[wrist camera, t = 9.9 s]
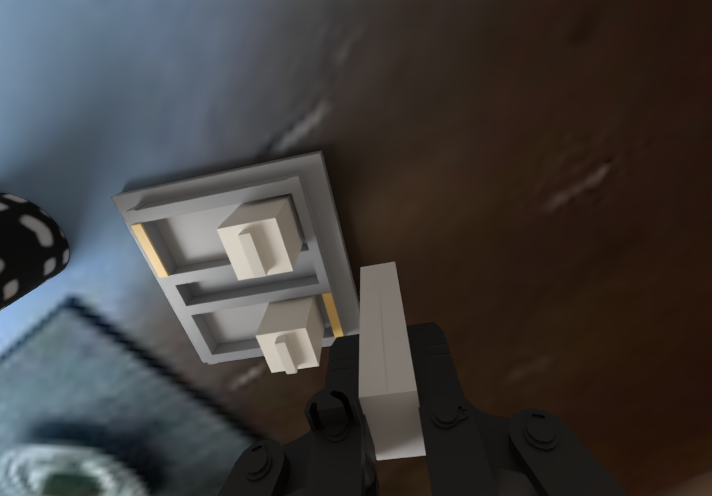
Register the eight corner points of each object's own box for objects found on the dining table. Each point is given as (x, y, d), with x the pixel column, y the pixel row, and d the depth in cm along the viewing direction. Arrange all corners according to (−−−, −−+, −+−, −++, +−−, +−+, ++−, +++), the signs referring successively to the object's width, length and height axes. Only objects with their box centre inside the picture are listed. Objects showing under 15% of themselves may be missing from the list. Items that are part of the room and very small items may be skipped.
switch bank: (208, 354, 35) (195, 375, 32) (120, 192, 27) (95, 204, 25) (366, 330, 33) (366, 351, 31) (321, 150, 25) (317, 157, 23)
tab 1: (258, 248, 28) (234, 286, 23) (241, 203, 26) (211, 234, 21) (304, 239, 27) (291, 277, 22) (290, 193, 26) (272, 222, 20)
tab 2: (284, 331, 32) (269, 380, 26) (271, 297, 30) (252, 343, 25) (324, 325, 31) (317, 373, 26) (313, 290, 30) (303, 335, 24)
